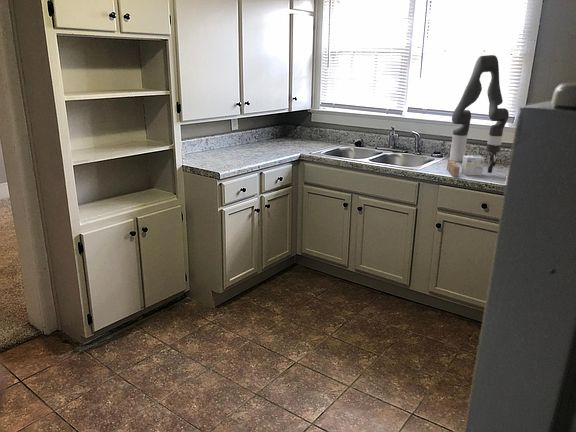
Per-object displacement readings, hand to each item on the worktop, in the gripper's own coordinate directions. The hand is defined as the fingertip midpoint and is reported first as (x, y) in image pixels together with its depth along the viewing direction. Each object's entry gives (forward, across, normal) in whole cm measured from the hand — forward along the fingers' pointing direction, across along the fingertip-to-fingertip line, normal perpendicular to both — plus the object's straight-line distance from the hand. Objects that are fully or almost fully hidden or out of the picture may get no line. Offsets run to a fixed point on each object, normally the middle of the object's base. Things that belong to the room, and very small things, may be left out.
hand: (489, 172), depth 283 cm
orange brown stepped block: (+2, 0, -21) cm, 21 cm away
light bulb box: (+2, 0, -10) cm, 10 cm away
